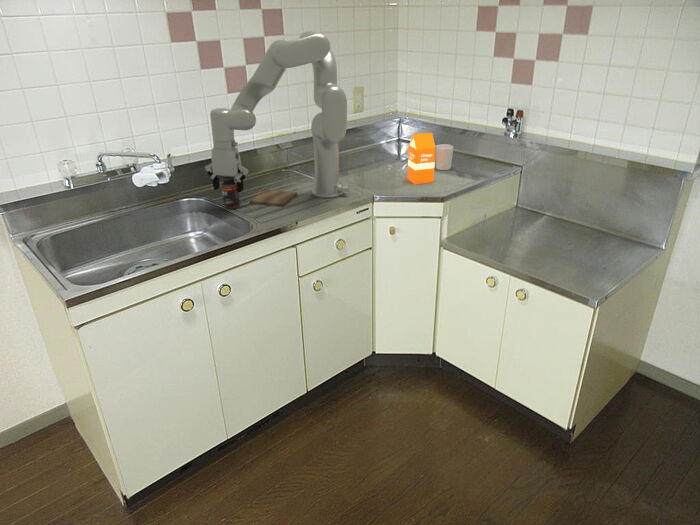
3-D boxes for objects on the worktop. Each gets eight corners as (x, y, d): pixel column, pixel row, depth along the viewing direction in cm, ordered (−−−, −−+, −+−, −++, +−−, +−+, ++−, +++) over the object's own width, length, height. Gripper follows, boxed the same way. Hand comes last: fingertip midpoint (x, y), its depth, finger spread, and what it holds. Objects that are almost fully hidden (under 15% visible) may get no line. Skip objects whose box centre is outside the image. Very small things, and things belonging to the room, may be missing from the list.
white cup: (454, 167, 242) (456, 145, 238) (447, 171, 236) (449, 149, 232) (438, 164, 246) (440, 143, 242) (431, 169, 240) (432, 147, 236)
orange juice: (433, 181, 224) (436, 134, 215) (414, 184, 222) (416, 136, 213) (425, 176, 231) (428, 130, 222) (407, 178, 228) (408, 132, 219)
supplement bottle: (240, 203, 203) (237, 175, 198) (239, 209, 198) (236, 179, 193) (224, 204, 202) (220, 176, 197) (223, 210, 197) (219, 180, 192)
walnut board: (297, 194, 211) (297, 192, 211) (283, 206, 199) (283, 204, 199) (265, 191, 215) (265, 189, 214) (250, 203, 203) (249, 200, 202)
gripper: (250, 143, 190) (254, 189, 198) (208, 140, 195) (213, 184, 202) (241, 148, 184) (245, 195, 191) (197, 144, 188) (202, 190, 196)
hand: (228, 190), depth 197 cm, fingers open, 9 cm apart
